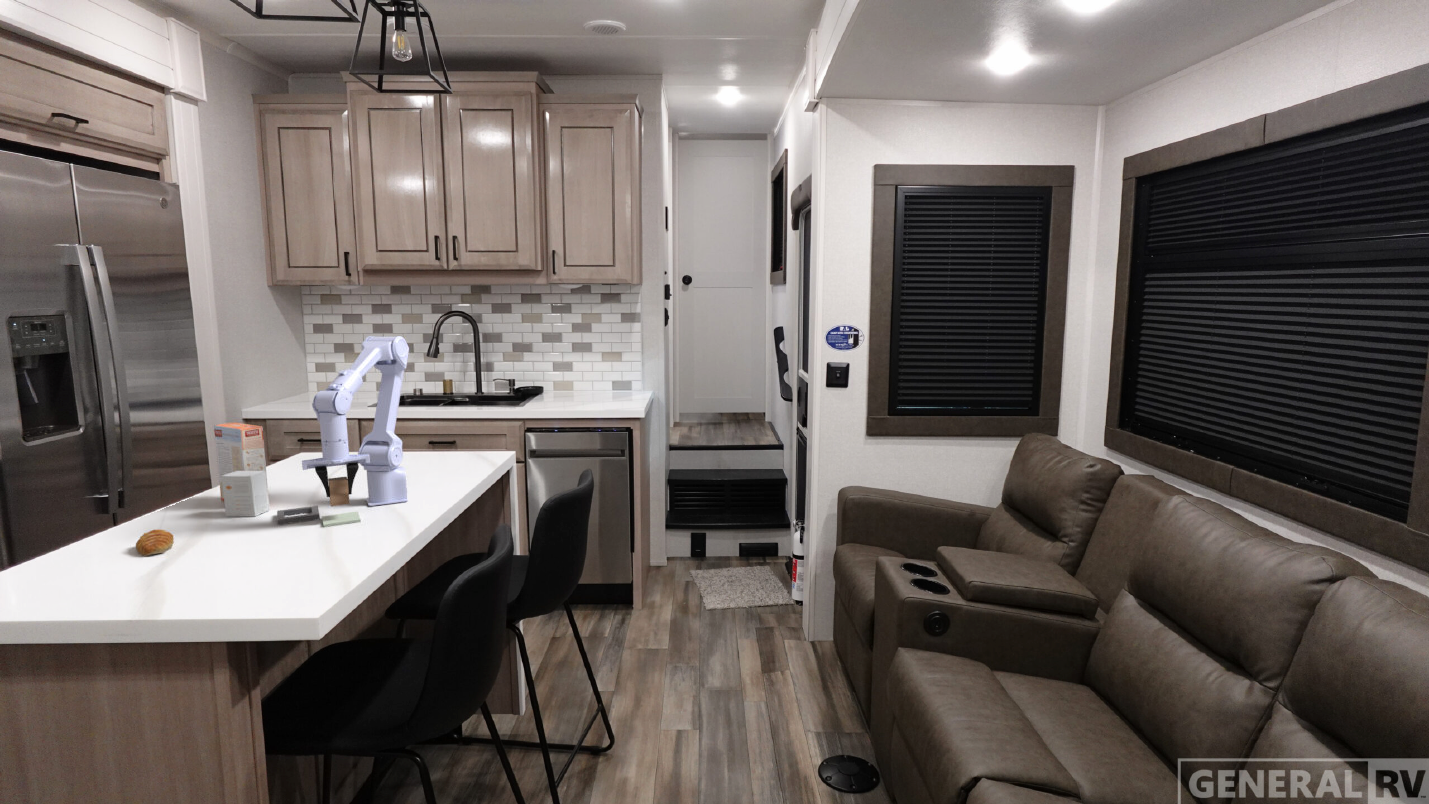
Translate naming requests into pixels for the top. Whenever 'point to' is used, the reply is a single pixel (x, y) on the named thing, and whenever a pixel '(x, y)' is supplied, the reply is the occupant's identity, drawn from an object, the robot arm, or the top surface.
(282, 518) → the collar
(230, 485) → the small box
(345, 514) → the sage green board
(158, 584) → the top surface
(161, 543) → the pastry
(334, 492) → the walnut plug
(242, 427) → the cracker box
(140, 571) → the top surface
